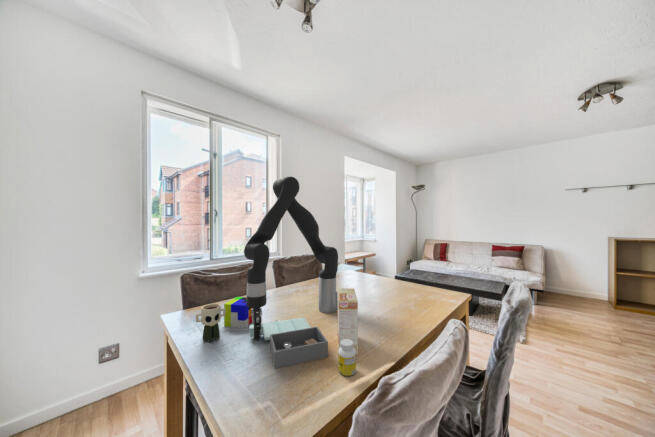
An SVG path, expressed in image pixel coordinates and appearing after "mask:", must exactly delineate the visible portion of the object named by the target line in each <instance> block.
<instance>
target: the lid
mask: <svg viewBox="0 0 655 437" xmlns="http://www.w3.org/2000/svg"><path fill="white" fill-rule="evenodd" d="M256 327H257V326H256ZM253 328H254V324H253V323H252V324H249V337H250V338H251V337H252V338H254V329H253ZM306 328H312V326H311V325H310V324H309V323H308V321H307V320H306V318H305V316H304V317H297V318H290V319H285V320H275V321H271V322H270V321H269V322H265V323H263V322H261V330H260V336H263V340H264V341H270V334H276V333H282V332H288V331H294V330H300V329H306Z"/></svg>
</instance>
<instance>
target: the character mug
mask: <svg viewBox="0 0 655 437" xmlns="http://www.w3.org/2000/svg"><path fill="white" fill-rule="evenodd" d="M225 315H226V309H225V308H224V307H223V308H222V305H221V303H209V304H205V305H203V306H201V309H200V313H196V314H195V323H201V325H203V332H202V340H203V342H206V343H207V342H212V341H213V340H214V341H216V340H218V339H219V338H220V337H221V336H220V335H221V333H220V327H219V326H220V325H219V322H221V319H222V317H224V316H225ZM199 317H201V318H200V319H199Z"/></svg>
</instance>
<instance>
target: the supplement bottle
mask: <svg viewBox="0 0 655 437" xmlns="http://www.w3.org/2000/svg"><path fill="white" fill-rule="evenodd" d="M338 373H339V375H341V376H342V377H345V378H351V377H354V376H355V375H356V373H357V354H356V351H355V349H354V348H353V341H352V340H350V339H343V340H342V341H341V347H340V349H339V350H338Z"/></svg>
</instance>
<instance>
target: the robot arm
mask: <svg viewBox="0 0 655 437" xmlns="http://www.w3.org/2000/svg"><path fill="white" fill-rule="evenodd" d="M298 180H299V179H297V178H296V177H294V176H286V177H282V178H278V179H276V180H274V182H273V184H272V191H273V194H274V195H275V197H276V198H277V199H276V201H275V202H274V204H273V206H271V207H270V209H269V210H268V211H267V212H266V213H265V215H264V216H263V218H262V219H261V222H260V224H259V225H258V228H257V229H256V231H255V233H253V234H252V236H251V237H250V238H249V240H248V241H247V242H246V244H245V246H244V249H243V256H244V257H245V258H246V259H247V260H250V261H252V262H253V263H252V266H250V267H249V268H248V269H247V275H246V278H247V279H246V280H247V283H246V297H247V307H249V308H252V309H251V314H252V322H251V323H252V325H253V324H254V328H253V329H254V336H253V339H254V340H260V339H261V335H260V330H261V323H263V321H262V315H263V310H262V307H265V306H266V305H267V278H266V276H267V275H266V271H267V267H268V264H269V260H270V249H269V247H268V246H267V245H266V242H268V241H271V240H273V237H274V236H275V233H276V231H277V229H278V227H279V225H280V223H281V220H282V219H283V218H284V215H285V214H286V212H288V214H289V216H290V217H291V219H292V220H293V221H294V223H295V224H296V226H297V228H298V230H299V231H300V233H301V234H302V236H303V238H304V239H305V240H306V243H307V244H308V245H309V248H310V249H311V251H312V254H313V256H314V257H315V259H316V260H317V262H318V263H321V264H324V267H323V268H324V269H320V271H318V311H319V312H321V313H326V314H329V313H334V312H336V311H338V290H337V273H338V269H339V268H338V266H339V252H338V250H337V248H336V247H333V246H329V245H328V246H326V245H325V244H324V243H323V241H322V240H321V238H320V228H319V224H318V222H317V220H316V218H315V217H314V215H313V214H312V213H311V212H310V211H309V210H308V209H307V208H305V207H304V206H303V205H301V204H300V203H299V202H298V200H297V199H296V198H297V195H298V193H299V192H300V183H299V182H300V181H298ZM256 326H257V327H256Z"/></svg>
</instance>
